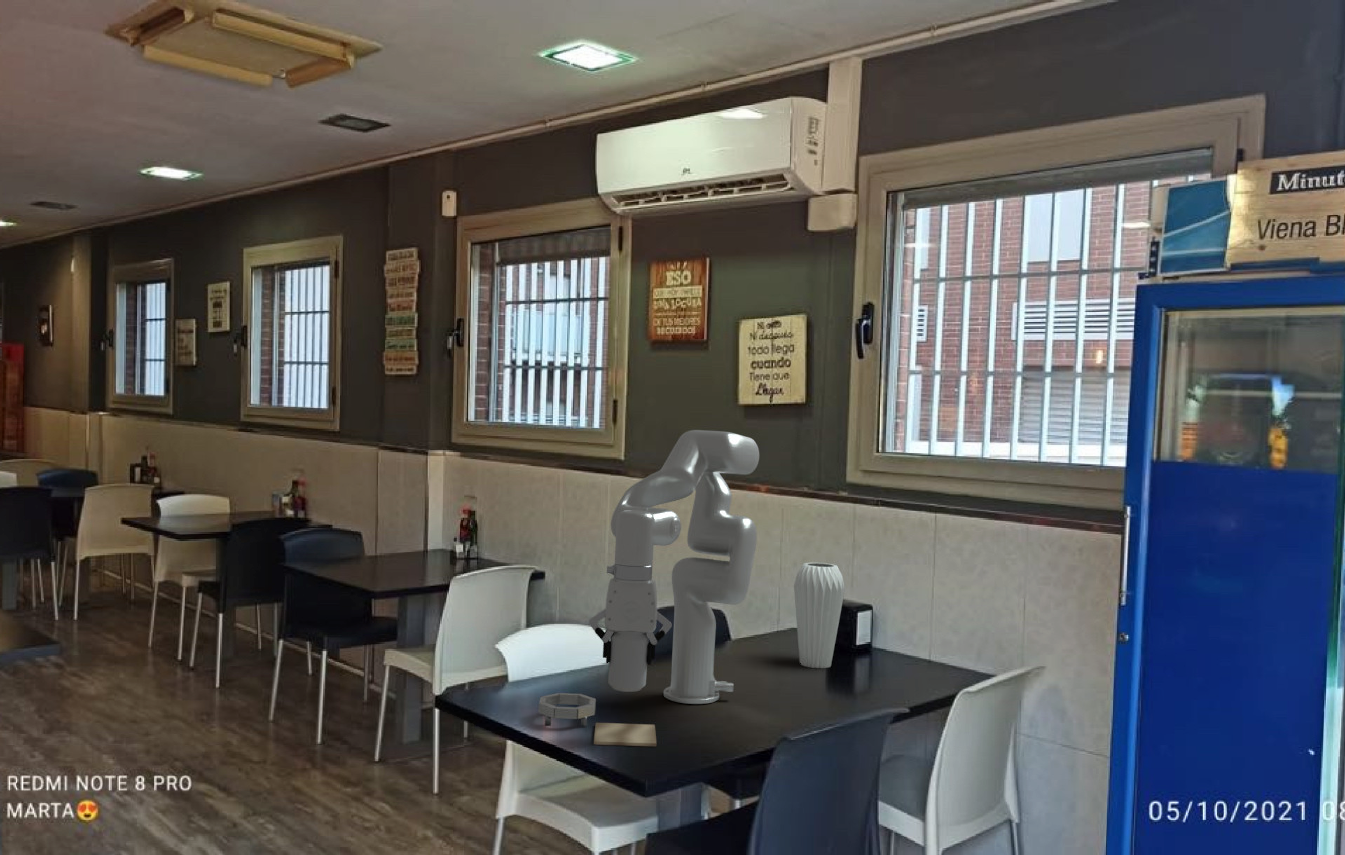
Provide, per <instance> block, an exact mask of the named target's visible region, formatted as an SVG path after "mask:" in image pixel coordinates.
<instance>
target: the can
mask: <svg viewBox="0 0 1345 855" xmlns="http://www.w3.org/2000/svg"><path fill="white" fill-rule="evenodd" d="M610 641H611V645H610V663H608V664H609V665H608V679H607V681H608V682H607V684H609V685H610V687H611V688H612V689H613V690H615V691H618V692H624V693H625V692H627V693H629V692H630V693H631V692H638V691H641V690H642V688H644V687H645V686H646V685H647V674H648V673H647V672H648V669H647V668H648V664H647V656H648V643H649V638H648V636H647V634H646V633H640V632H631V631H621V632H614V633H613V634H612V636H611V637H610Z"/></svg>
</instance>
